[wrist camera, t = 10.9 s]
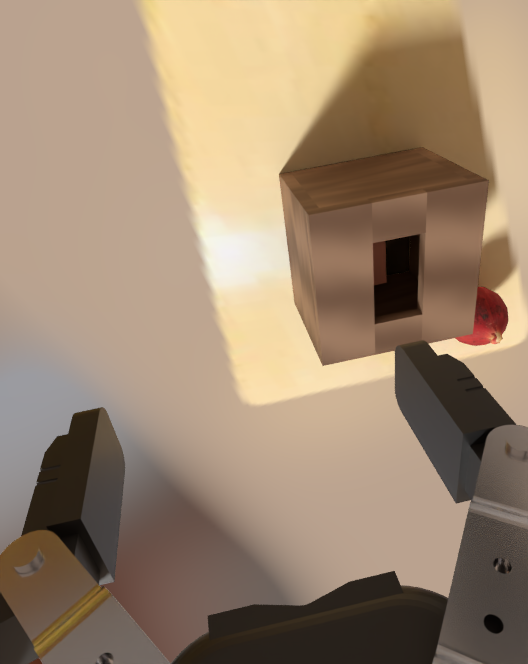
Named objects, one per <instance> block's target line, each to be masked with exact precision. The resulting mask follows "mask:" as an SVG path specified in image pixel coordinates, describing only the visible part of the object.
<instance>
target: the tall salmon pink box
mask: <svg viewBox="0 0 528 664" xmlns="http://www.w3.org/2000/svg"><path fill="white" fill-rule="evenodd" d="M373 275H374V285H378V284H383V283H387V277H386V245H385V241H382V242H377V243H373Z"/></svg>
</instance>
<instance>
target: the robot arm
mask: <svg viewBox="0 0 528 664" xmlns="http://www.w3.org/2000/svg"><path fill="white" fill-rule="evenodd" d="M395 394H396V399H397V402H398V405H399V407H400V410H401V411H402V413H403V415H404V417H405V419H406V420H407V422H408V423H409V425H410V427H411V429H412V430H413V432H414V434H415V435H416V437H417V439H418V440H419V442H420V444H421V445H422V447H423V449H424V450H425V452H426V454H427V456H428V457H429V459H430V461H431V462H432V464H433V465H434V467H435V469H436V471H437V472H438V474H439V475H440V477H441V479H442V481H443V482H444V484H445V486H446V487H447V489H448V491H449V492H450V494H451V496H452V497H453V499H454V501H455V502H456V503H460V502H464V501H468V500H471V502H470V507H469V511H468V515H467V519H466V523H465V528H464V532H463V536H462V541H461V545H460V549H459V554H458V559H457V563H456V567H455V571H454V576H453V580H452V585H451V589H450V593H449V598H447V597H445V596H443V595H440V594H438V593H435V592H433V591H430V590H426V589H422V588H418V587H411V586H401V585H400V583H399V581H398V578H397V576H396V573H395V571H392V572H388V573H384V574H380V575H376V576H371V577H367V578H363V579H359V580H355V581H351V582H348V583H346V584H344V585H343V586H341V587H339V588H337V589H335V590H334V591H332V592H330V593H328V594H326V595H325V596H322V597H321V598H319V599H317V600H315V601H313V602H312V603H309V604H307V605H304V606H292V605H291V606H290V605H250V606H247V607H242V608H238V609H234V610H230V611H225V612H221V613H217V614H213V615H209V616H208V627H209V632H207V633H205V634H204V635H202V636H201V637H199V638H198V639H196V640H195V641H194V642H192V643H191V644H190V645H188V646H187V647H186V648H185V649H184V650H183V651H182V652H181V653H180V654H179V655H178V656H177V657H176V658H175V659H174V660H173V662H172V663H171V664H528V427H525V426H520V425H516V424H515V422H514V421H513V420H512V419H511V418H510V417H509V415H508V414H507V413H506V412H505V411H504V410H503V408H502V407H501V406H500V405H499V404H498V403H497V401H496V400H495V399H494V398H493V397H492V396H491V394H490V393H489V392H488V391H487V390H486V389H485V388H483V385H482V384H481V383H480V382H479V381H478V379H477V378H475V377H474V375H473V374H472V372H471V371H470V370H469V369H468V368H467V367H466V365H465V364H464V363H462V362H461V361H459V360H457V359H455V358H453V357H452V356H450V355H448V354H444V355H439V356H437V354H436V353H435V352H434V351H433V349H432V348H431V347H430V346H429V344H428V343H427V342H426V341H424V340H421V341H417V342H412V343H407V344H402V345H398V346H396V349H395ZM40 470H41V472H39V476H38V479H37V486H35V489H34V493H33V496H32V500H31V503H30V507H29V510H28V514H27V517H26V521H25V525H24V528H23V531H22V535H21V537H19V538H18V539H16V540H14V541H13V542H12V543H11V544H10V545H8V547H6V549H4V551H3V552H2V553H1V555H0V664H29V663H30V662H32V661H34V660H35V659H37V658H40V660H41V661H42V663H43V664H170V662H169V661H168V660H167V659H166V658H165V656H164V655H163V654H162V653H161V652H160V651H159V649H158V648H157V647H156V646H155V645H154V644H153V642H152V641H151V640H150V639H149V638H148V637H147V635H146V634H145V633H144V632H143V631H142V629H141V628H140V627H139V626H138V625H137V624H136V622H135V621H134V620H133V619H132V618H131V617H130V615H129V614H128V613H127V612H126V611H125V609H124V608H123V607H122V606H121V605H120V604H119V603H118V601H117V600H116V599H115V598H114V597H113V595H112V594H111V593H110V592H109V591H108V590H107V589H106V588H105V587H104V586H103V587H102V588H101V587H100V586H99V585H102V584H106V583H111V582H114V579H115V568H116V558H117V548H118V537H119V526H120V517H121V506H122V496H123V484H124V475H125V462H124V455H123V451H122V448H121V445H120V443H119V440H118V438H117V436H116V433H115V431H114V428H113V426H112V423H111V421H110V419H109V416H108V414H107V412H106V410H105V409H104V408H103V407H101V408H97V409H92V410H87V411H82V412H78V413H75V414H74V415H73V417H72V421H71V425H70V429H69V433H68V434H67V435H62V436H57V438H56V439H55V440H54V441H53V443H52V444H51V445H50V447H49V448H48V449H47V451H46V452H45V454H44V458H43V461H42V465H41V468H40Z"/></svg>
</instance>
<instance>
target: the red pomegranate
mask: <svg viewBox="0 0 528 664" xmlns="http://www.w3.org/2000/svg"><path fill="white" fill-rule="evenodd" d="M507 323H508V311H507V307H506V305H505V303H504V302H503V300H502V299H501V297H500V296H499V295H498V294H497V293H495V292H493V291H491V290H489V289H487V288H485V287H478V288H477V298H476V307H475V317H474V327H473V334H470V335H466V336H461V337H456V339H457V340H458V341H460V342H462V343H465V344H469V345H475V346H477V345H485V344H488V343H492V344H497V343H500V341H501V340H502V339H503V338H502V334H503V332H504V331H505V329H506V326H507Z"/></svg>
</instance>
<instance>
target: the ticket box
mask: <svg viewBox="0 0 528 664" xmlns="http://www.w3.org/2000/svg"><path fill="white" fill-rule="evenodd" d="M279 178H280V186H281V194H282V202H283V211H284V219H285V227H286V235H287V244H288V252H289V260H290V268H291V277H292V285H293V293H294V301H295V305H296V307H297V309H298V311H299V314H300V316H301V318H302V320H303V323H304V325H305V327H306V329H307V332H308V334H309V336H310V338H311V341H312V343H313V345H314V347H315V350H316V352H317V354H318V356H319V358H320V361H321V363H322V365H323V366H324V365H329V364H333V363H338V362H343V361H348V360H352V359H357V358H362V357H366V356H371V355H376V354H381V353H385V352H390V351H395V349H396V346H398V345H402V344H407V343H412V342H417V341H421V340H424V341H426V342H427V343H433V342H437V341H442V340H447V339H452V338H456V337H461V336H466V335H470V334H473V327H474V317H475V307H476V298H477V288H478V279H479V269H480V259H481V250H482V240H483V230H484V221H485V211H486V202H487V192H488V182H489V181H488V180H486V179H484V178H482V177H480V176H478V175H476V174H474V173H472V172H470V171H468V170H466V169H465V168H463V167H461V166H459V165H457V164H455V163H453V162H451V161H449V160H447V159H445V158H443V157H441V156H439V155H437V154H435V153H433V152H431V151H429V150H427V149H425V148H423V147H422V148H416V149H411V150H406V151H400V152H395V153H390V154H384V155H379V156H374V157H368V158H363V159H357V160H352V161H347V162H341V163H336V164H331V165H325V166H320V167H315V168H309V169H304V170H299V171H293V172H288V173H283V174H279ZM407 236H410V253H409V271H407V272H402V273H397V274H392V275H387V276H386V277H387V283H383V284H378V285H374V275H373V243H377V242H382V241H387V240H392V239H397V238H402V237H407Z"/></svg>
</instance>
